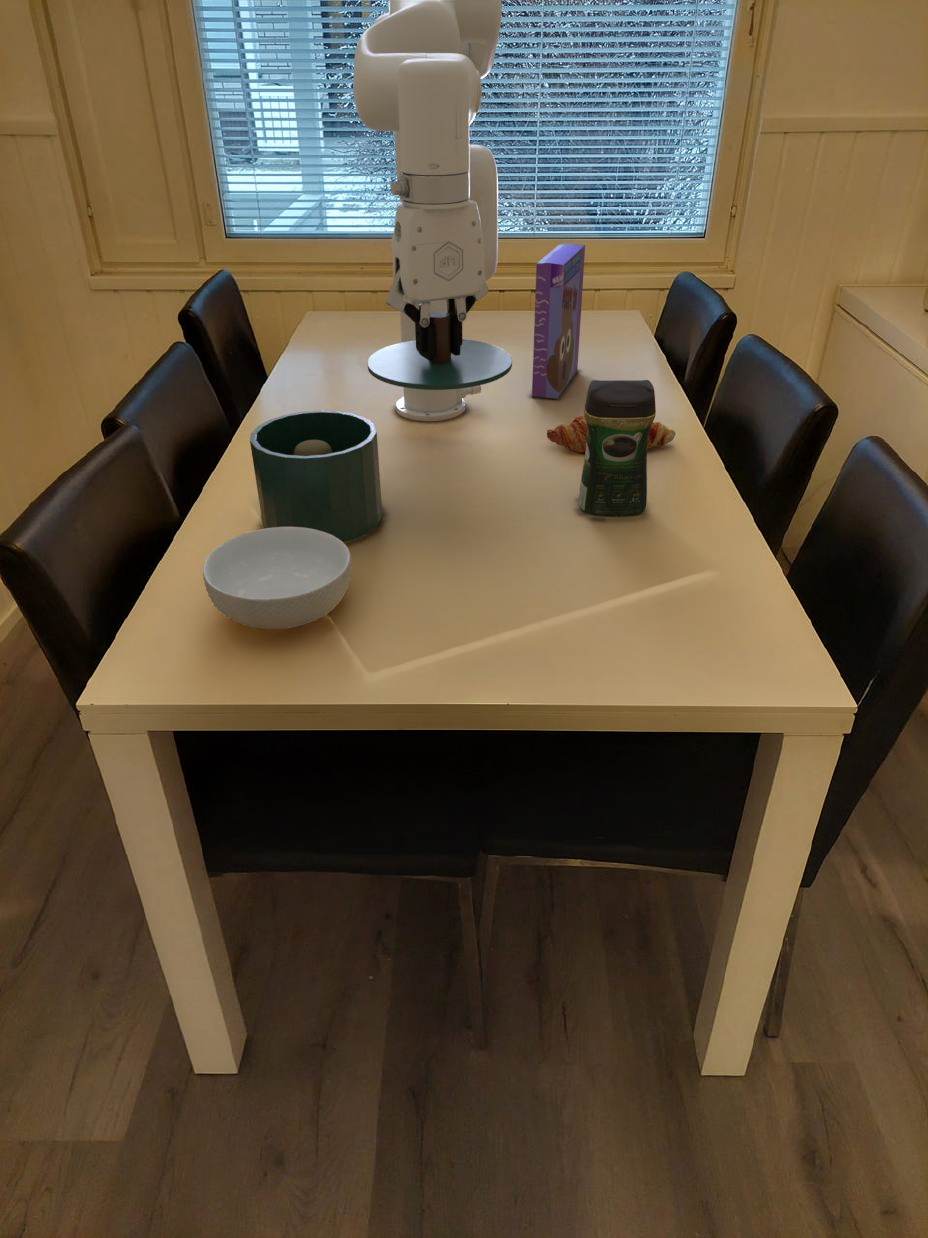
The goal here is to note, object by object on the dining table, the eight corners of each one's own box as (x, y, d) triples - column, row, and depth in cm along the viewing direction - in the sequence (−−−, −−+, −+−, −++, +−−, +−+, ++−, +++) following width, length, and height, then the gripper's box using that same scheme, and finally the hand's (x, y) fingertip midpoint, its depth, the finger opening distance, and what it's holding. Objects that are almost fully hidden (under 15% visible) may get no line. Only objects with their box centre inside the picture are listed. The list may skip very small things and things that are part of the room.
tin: (356, 485, 134) (349, 402, 126) (400, 531, 121) (395, 442, 114) (249, 509, 127) (235, 423, 120) (284, 559, 115) (271, 467, 108)
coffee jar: (641, 495, 130) (655, 371, 120) (648, 520, 123) (663, 391, 113) (575, 495, 130) (583, 371, 120) (579, 520, 124) (588, 391, 113)
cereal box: (556, 399, 164) (563, 263, 150) (531, 397, 165) (536, 261, 152) (577, 370, 177) (585, 243, 164) (554, 368, 179) (560, 242, 165)
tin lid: (469, 339, 119) (469, 288, 115) (539, 378, 106) (541, 322, 102) (346, 360, 112) (341, 306, 108) (404, 405, 99) (401, 345, 95)
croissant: (666, 457, 150) (666, 409, 149) (684, 451, 140) (685, 400, 139) (542, 459, 148) (542, 410, 148) (552, 453, 138) (552, 402, 138)
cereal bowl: (289, 669, 95) (281, 614, 91) (181, 624, 103) (170, 572, 99) (382, 597, 107) (379, 546, 103) (280, 561, 115) (273, 512, 111)
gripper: (381, 201, 92) (391, 374, 102) (516, 188, 98) (512, 352, 108) (354, 190, 97) (366, 356, 108) (483, 179, 103) (482, 336, 114)
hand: (439, 353), depth 108 cm, fingers closed on tin lid, 2 cm apart
